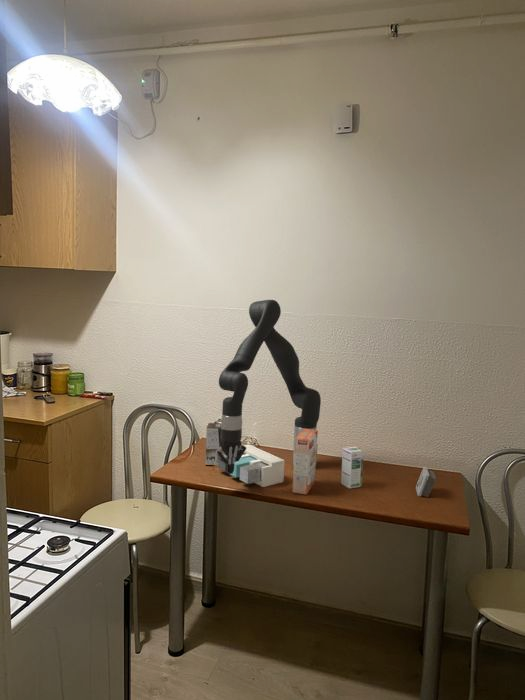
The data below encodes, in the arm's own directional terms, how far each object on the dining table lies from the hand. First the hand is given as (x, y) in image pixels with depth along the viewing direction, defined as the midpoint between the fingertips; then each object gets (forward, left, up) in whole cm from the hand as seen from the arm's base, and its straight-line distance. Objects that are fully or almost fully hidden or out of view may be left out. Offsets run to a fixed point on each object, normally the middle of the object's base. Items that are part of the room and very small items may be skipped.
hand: (229, 473), depth 187 cm
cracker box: (-25, +13, -7) cm, 29 cm away
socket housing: (-17, -7, -7) cm, 20 cm away
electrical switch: (-60, +41, -7) cm, 73 cm away
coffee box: (-11, -28, -7) cm, 31 cm away
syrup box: (-42, +21, -7) cm, 48 cm away
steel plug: (-11, 0, -5) cm, 12 cm away
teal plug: (-11, -7, -5) cm, 14 cm away
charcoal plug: (-11, -15, -5) cm, 19 cm away
